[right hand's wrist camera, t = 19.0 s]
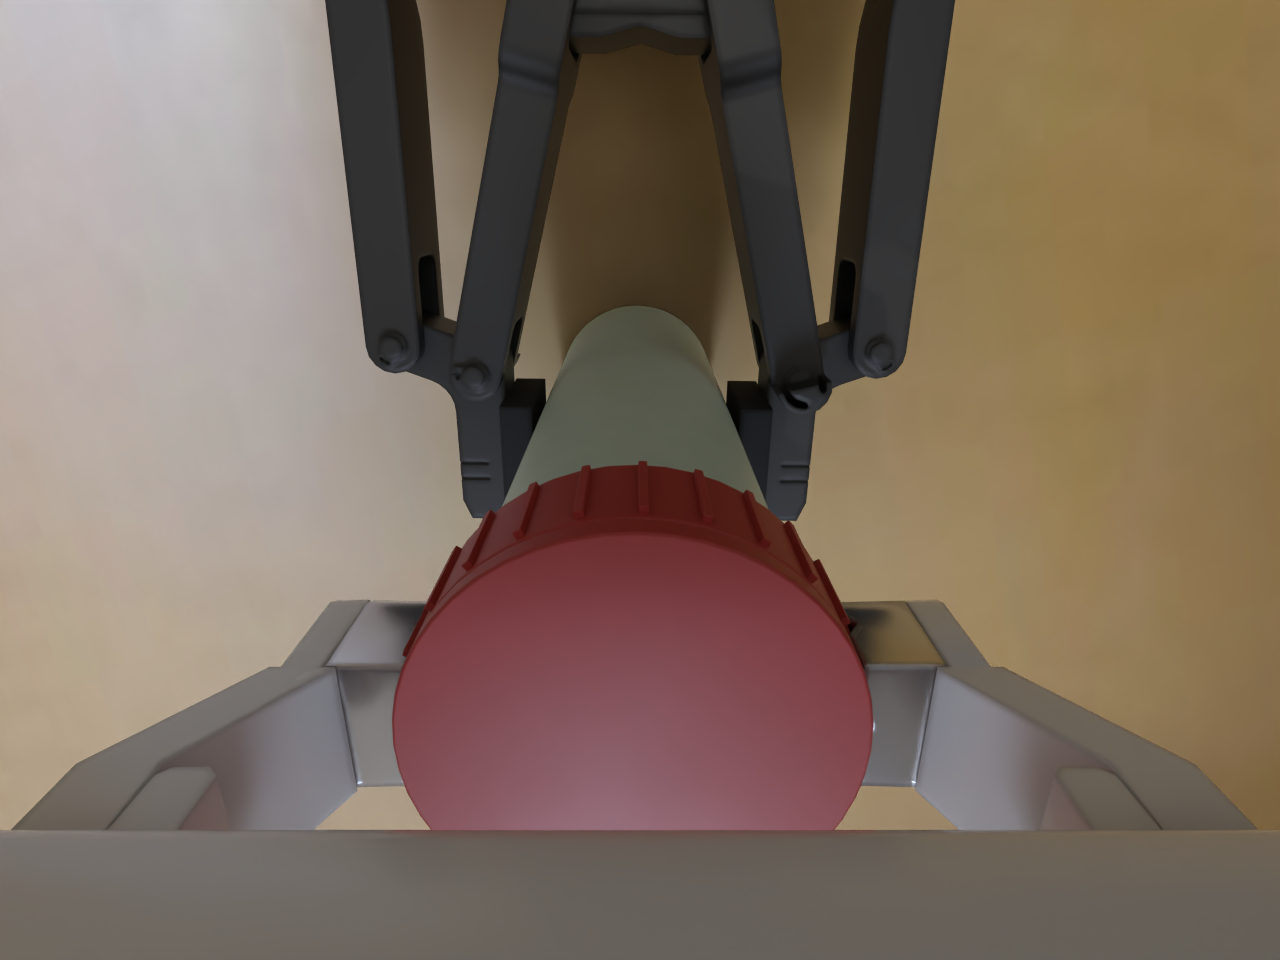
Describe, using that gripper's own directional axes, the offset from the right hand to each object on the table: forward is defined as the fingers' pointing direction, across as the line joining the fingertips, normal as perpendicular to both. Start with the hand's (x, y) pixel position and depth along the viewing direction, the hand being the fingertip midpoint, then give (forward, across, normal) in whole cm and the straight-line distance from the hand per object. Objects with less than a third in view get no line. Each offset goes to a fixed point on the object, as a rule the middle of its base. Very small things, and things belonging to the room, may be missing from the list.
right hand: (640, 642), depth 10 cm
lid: (-2, 0, 0) cm, 2 cm away
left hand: (+9, 0, -5) cm, 10 cm away
